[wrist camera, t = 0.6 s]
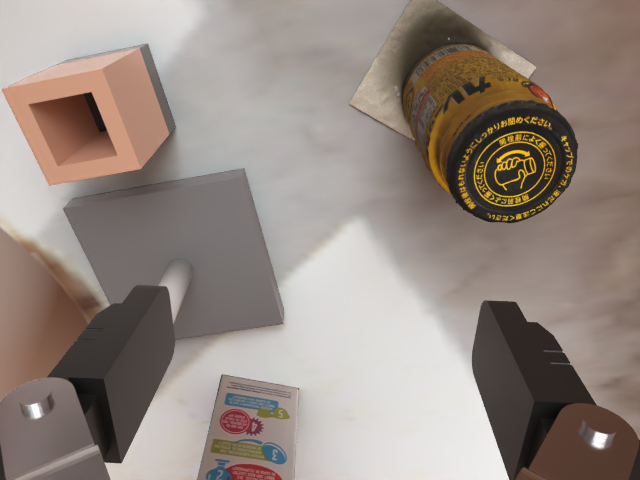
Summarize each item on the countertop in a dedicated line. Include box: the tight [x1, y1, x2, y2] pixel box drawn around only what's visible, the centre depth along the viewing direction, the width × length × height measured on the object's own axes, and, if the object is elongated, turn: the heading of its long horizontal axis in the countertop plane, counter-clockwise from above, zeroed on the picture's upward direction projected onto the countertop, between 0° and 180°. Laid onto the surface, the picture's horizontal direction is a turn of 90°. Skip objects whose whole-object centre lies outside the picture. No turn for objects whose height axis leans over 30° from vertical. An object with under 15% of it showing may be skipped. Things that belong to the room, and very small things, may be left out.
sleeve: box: [2, 44, 176, 186], centre depth 28 cm, size 5×5×7 cm
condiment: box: [349, 0, 578, 223], centre depth 25 cm, size 7×8×12 cm
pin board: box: [63, 168, 284, 340], centre depth 33 cm, size 12×12×9 cm
